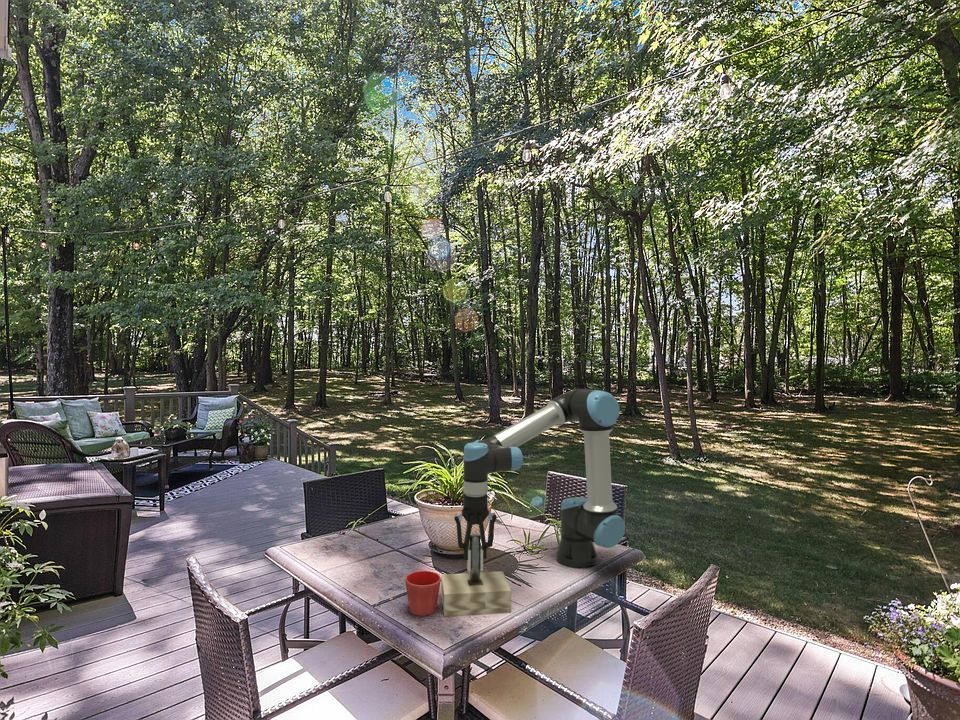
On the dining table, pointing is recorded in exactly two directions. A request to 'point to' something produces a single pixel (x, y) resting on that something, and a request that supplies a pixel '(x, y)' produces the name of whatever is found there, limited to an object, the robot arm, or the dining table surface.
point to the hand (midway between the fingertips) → (475, 569)
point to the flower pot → (422, 591)
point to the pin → (475, 558)
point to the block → (475, 594)
